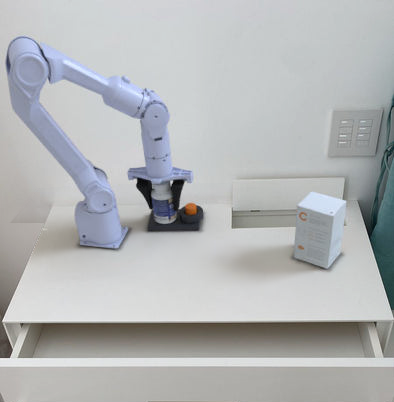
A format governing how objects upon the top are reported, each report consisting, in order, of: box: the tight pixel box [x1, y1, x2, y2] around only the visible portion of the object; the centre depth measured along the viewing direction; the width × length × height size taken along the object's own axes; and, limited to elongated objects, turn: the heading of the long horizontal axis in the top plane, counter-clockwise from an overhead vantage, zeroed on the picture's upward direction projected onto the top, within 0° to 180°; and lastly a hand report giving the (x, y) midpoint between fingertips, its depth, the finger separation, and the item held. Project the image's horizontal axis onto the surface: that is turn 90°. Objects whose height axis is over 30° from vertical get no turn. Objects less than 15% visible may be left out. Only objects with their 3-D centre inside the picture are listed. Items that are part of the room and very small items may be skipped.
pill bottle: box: [151, 180, 177, 224], centre depth 131 cm, size 5×5×10 cm
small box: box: [293, 190, 348, 270], centre depth 118 cm, size 8×6×13 cm
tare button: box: [184, 202, 197, 215], centre depth 132 cm, size 3×3×2 cm
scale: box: [147, 204, 204, 232], centre depth 134 cm, size 13×7×3 cm, turn 85°
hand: (164, 207), depth 132 cm, fingers closed on pill bottle, 5 cm apart
